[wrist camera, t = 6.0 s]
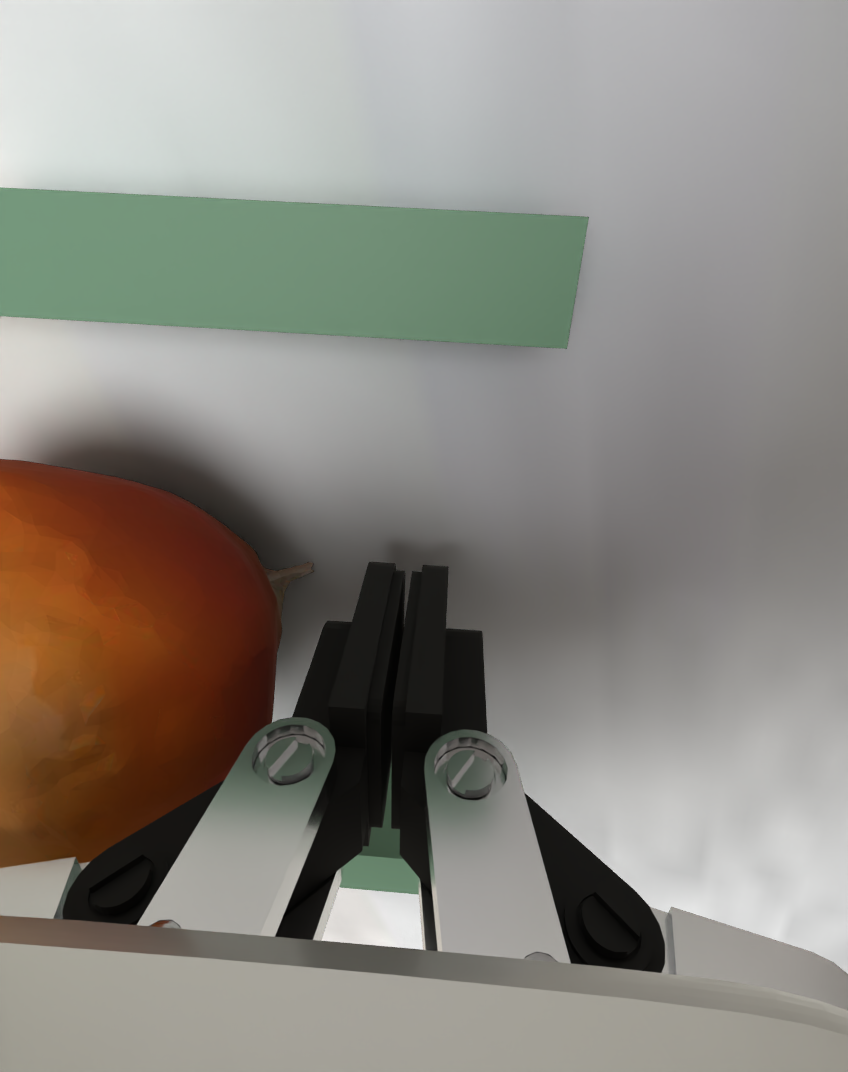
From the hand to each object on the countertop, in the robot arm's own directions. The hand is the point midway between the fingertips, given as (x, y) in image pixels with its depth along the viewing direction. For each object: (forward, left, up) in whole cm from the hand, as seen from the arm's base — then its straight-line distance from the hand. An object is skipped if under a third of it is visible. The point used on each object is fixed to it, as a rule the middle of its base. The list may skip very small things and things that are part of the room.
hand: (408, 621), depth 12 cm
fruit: (+6, 0, -2) cm, 6 cm away
